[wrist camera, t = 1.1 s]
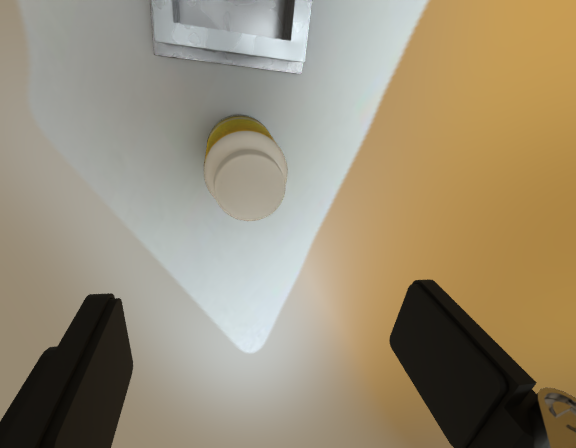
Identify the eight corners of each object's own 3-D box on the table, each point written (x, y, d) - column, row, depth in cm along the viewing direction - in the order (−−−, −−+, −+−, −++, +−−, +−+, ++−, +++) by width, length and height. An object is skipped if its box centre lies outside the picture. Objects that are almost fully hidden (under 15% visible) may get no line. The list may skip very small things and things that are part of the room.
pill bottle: (193, 142, 27) (178, 184, 18) (244, 99, 26) (257, 118, 17) (236, 189, 30) (244, 246, 21) (284, 152, 29) (314, 194, 20)
